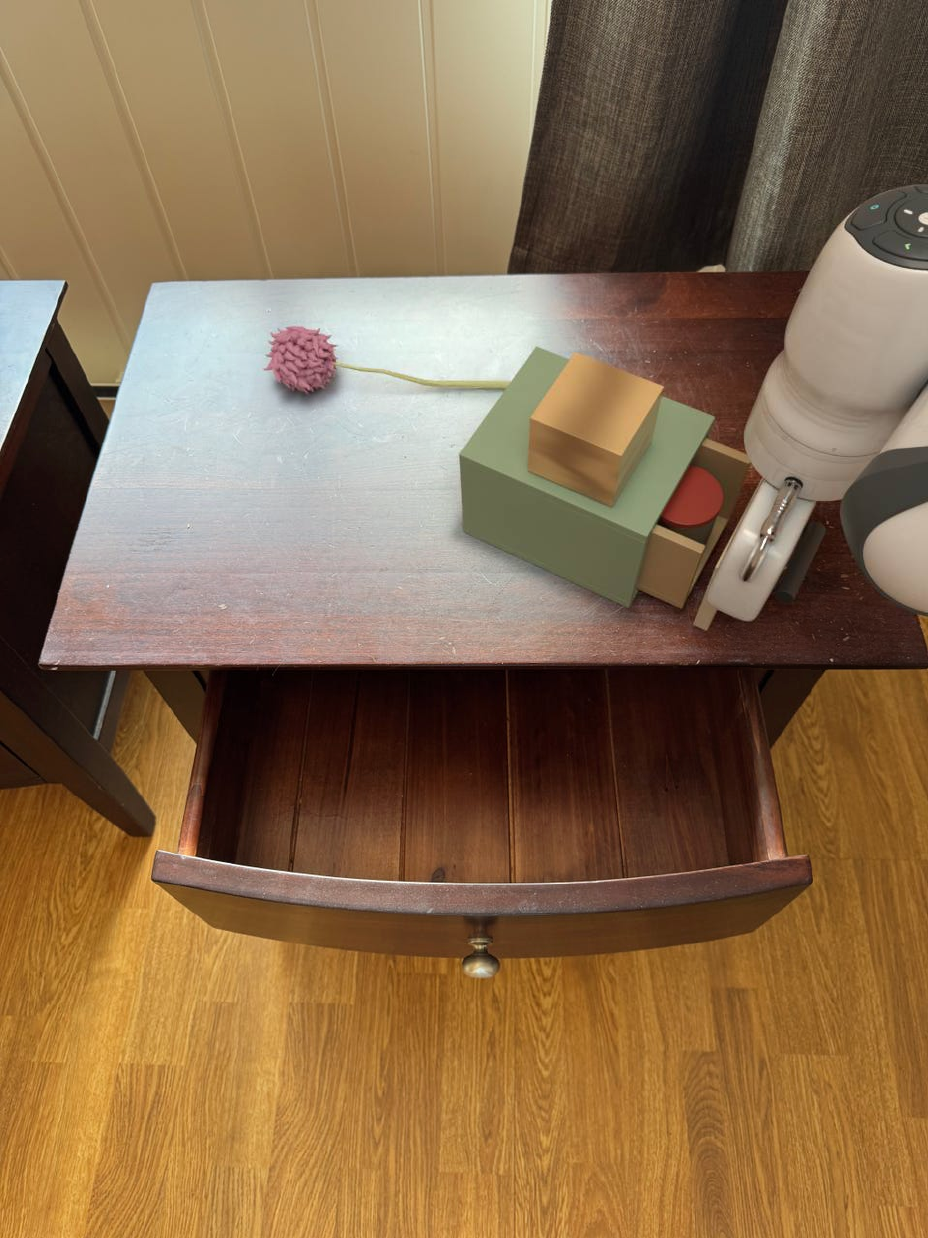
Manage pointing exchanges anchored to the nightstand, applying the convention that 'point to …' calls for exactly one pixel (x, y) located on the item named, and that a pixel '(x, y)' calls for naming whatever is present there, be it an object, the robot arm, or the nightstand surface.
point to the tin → (694, 506)
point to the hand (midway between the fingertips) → (759, 546)
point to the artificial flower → (329, 362)
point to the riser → (593, 428)
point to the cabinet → (557, 516)
